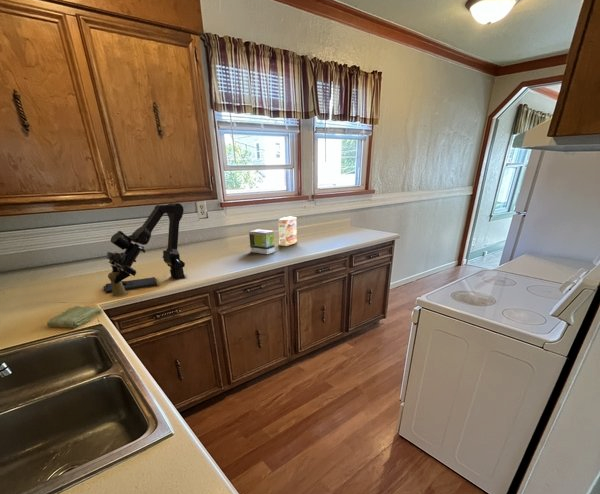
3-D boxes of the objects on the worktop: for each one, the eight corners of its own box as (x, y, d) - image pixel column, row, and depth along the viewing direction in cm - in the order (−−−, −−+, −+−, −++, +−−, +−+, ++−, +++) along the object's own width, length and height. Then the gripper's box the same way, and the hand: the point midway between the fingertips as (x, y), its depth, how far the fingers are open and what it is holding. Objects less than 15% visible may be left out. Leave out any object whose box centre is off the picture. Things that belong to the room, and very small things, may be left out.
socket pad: (155, 279, 181) (154, 276, 180) (157, 286, 170) (157, 283, 169) (104, 286, 171) (103, 283, 171) (103, 294, 160) (102, 291, 160)
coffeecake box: (286, 246, 248) (285, 219, 239) (278, 245, 252) (277, 218, 243) (297, 242, 260) (296, 216, 250) (289, 241, 263) (289, 216, 254)
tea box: (275, 251, 233) (274, 230, 226) (266, 254, 226) (265, 233, 219) (259, 249, 241) (257, 228, 234) (250, 252, 233) (248, 231, 226)
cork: (120, 296, 157) (114, 274, 152) (110, 296, 158) (103, 274, 153) (129, 292, 163) (123, 270, 157) (118, 291, 164) (112, 270, 159)
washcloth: (104, 311, 142) (102, 304, 141) (76, 329, 127) (73, 322, 125) (76, 310, 143) (73, 303, 142) (44, 328, 128) (41, 321, 126)
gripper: (107, 242, 158) (89, 269, 156) (122, 248, 146) (103, 277, 145) (128, 255, 167) (111, 281, 165) (144, 261, 155) (126, 289, 153)
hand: (112, 282), depth 157 cm, fingers closed on cork, 5 cm apart
